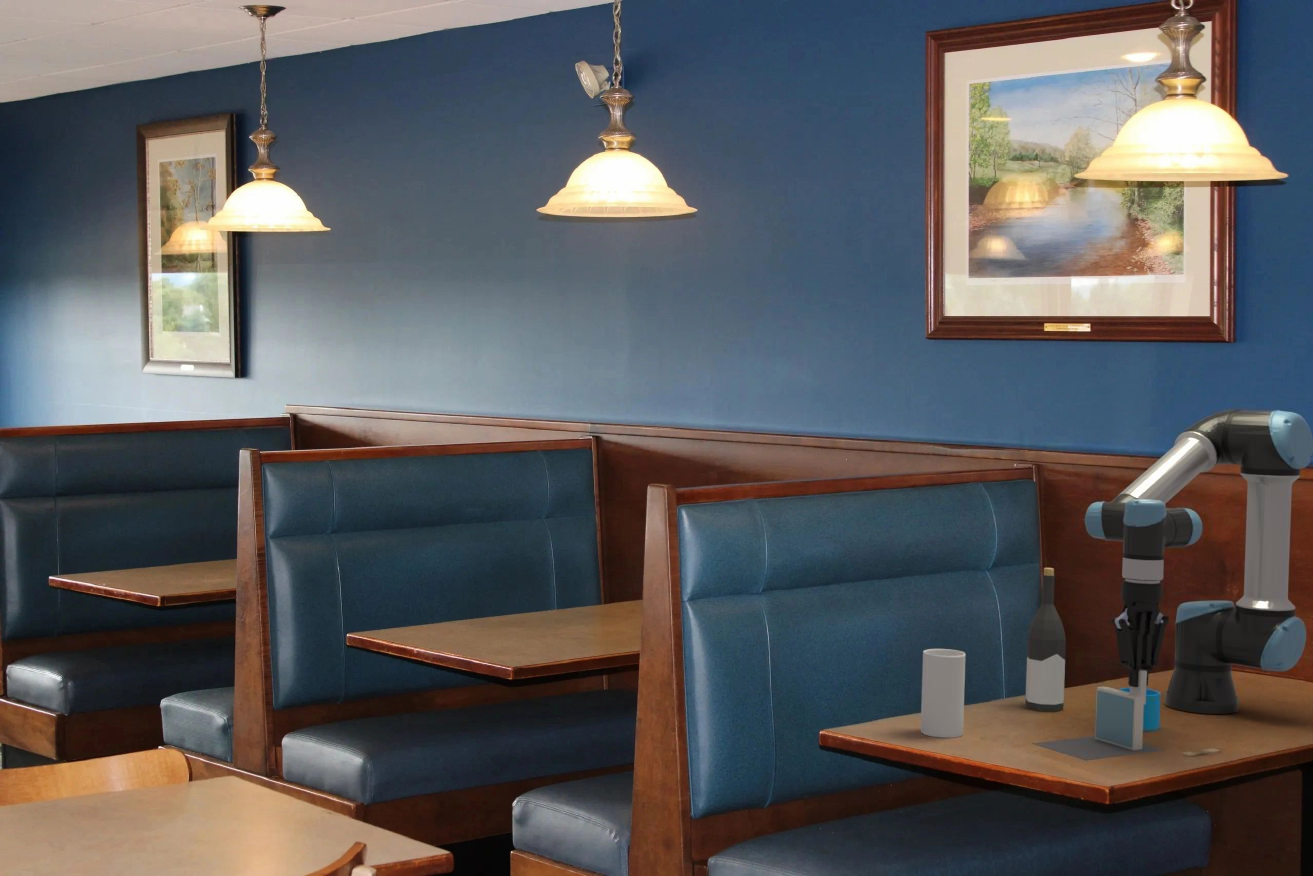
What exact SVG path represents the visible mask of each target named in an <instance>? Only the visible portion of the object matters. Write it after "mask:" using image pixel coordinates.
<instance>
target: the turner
mask: <svg viewBox="0 0 1313 876" xmlns="http://www.w3.org/2000/svg"><path fill="white" fill-rule="evenodd" d="M1221 752H1222V751H1221V750H1220V749H1217V748H1207V749H1206V748H1205V749H1199V750H1194V751H1193V750H1192V751H1186V752H1182V756H1185V757H1188V758H1193V757H1195V758H1196V757H1201V756H1207V755H1208V756H1209V755H1217V754H1221Z"/></svg>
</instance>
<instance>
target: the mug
mask: <svg viewBox="0 0 1313 876" xmlns="http://www.w3.org/2000/svg"><path fill="white" fill-rule="evenodd" d="M1118 690H1121V691H1125V692H1129V693H1130V687H1121V688H1119V689H1118ZM1161 694H1162V693H1161V692H1160V691H1159V690H1158V691H1157V690H1154V689H1150V688H1146V705H1144V711H1143V732H1144V731H1157V730H1159V729H1160V725H1161V724H1160V723H1161V722H1160V721H1161V699H1162V698H1161V696H1162V695H1161Z"/></svg>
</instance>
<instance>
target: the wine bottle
mask: <svg viewBox="0 0 1313 876" xmlns="http://www.w3.org/2000/svg"><path fill="white" fill-rule="evenodd" d="M1055 578H1056V575H1055V568H1052V567H1044V568H1043V574H1042V588H1041V589H1042V591H1041V592H1042V594H1041V595H1042V597H1041V605H1040V606H1039V608H1038V609H1037V611H1036V613H1035V615H1034V616H1033V619H1032V620H1031V623H1030V625H1029V629H1028V633H1027V644H1026V645H1027V646H1026V648H1027V649H1026V650H1027V651H1026V656H1027V657H1026V678H1025V707H1026V708H1027V709H1028V710H1032V711H1036V712H1037V711H1038V712H1048V713H1051V712H1052V713H1056V712H1060V711H1064V702H1065V701H1064V699H1065V676H1066V675H1065V671H1066V670H1065V669H1066V667H1065V666H1066V649H1067V648H1066V647H1067V645H1066V642H1067V638H1066V633H1065V629H1064V625H1063V622H1062V621H1063V620H1062V619H1061V617H1060V615H1059V613H1058V611H1057V609H1056V607H1055V604H1054V603H1055V602H1054V601H1055V600H1054V599H1055Z"/></svg>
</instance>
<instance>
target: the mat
mask: <svg viewBox="0 0 1313 876" xmlns="http://www.w3.org/2000/svg"><path fill="white" fill-rule="evenodd" d="M1032 745H1036V746H1038V747H1042V748H1045V749H1049V750H1051V751H1054V752H1058V753H1061V754H1064V755H1068V756H1070V757H1074V758H1076V759H1080V760H1082V761H1083V760H1084V761H1092V760H1098V759H1106V758H1114V757H1121V756H1128V755H1130V756H1131V755H1137V754H1143V753H1144V754H1145V753H1152V752H1159V751H1160V752H1161V751H1165V749H1164V748H1161V747H1157V746H1154V745H1150V744H1147V743H1144V742H1142V749H1140V750H1131V749H1128V748H1124V747H1121V746H1118V745H1114V744H1111V743H1108V742H1104V741H1101V740H1097V739H1095V735H1090V736H1082V737H1075V738H1072V737H1071V738H1067V739H1057V740H1048V741H1041V742H1032Z"/></svg>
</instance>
